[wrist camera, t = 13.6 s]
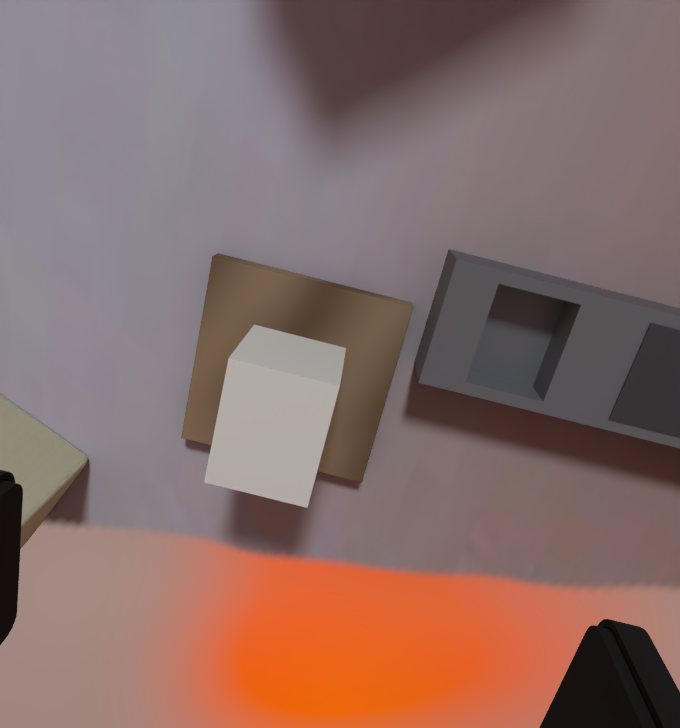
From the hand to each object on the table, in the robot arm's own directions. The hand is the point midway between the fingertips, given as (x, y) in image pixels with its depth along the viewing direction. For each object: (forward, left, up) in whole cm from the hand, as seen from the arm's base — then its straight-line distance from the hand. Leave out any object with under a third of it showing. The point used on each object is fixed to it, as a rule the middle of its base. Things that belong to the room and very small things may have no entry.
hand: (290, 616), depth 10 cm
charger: (+2, +4, -21) cm, 21 cm away
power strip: (-12, -1, -22) cm, 25 cm away
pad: (+2, +4, -22) cm, 22 cm away
